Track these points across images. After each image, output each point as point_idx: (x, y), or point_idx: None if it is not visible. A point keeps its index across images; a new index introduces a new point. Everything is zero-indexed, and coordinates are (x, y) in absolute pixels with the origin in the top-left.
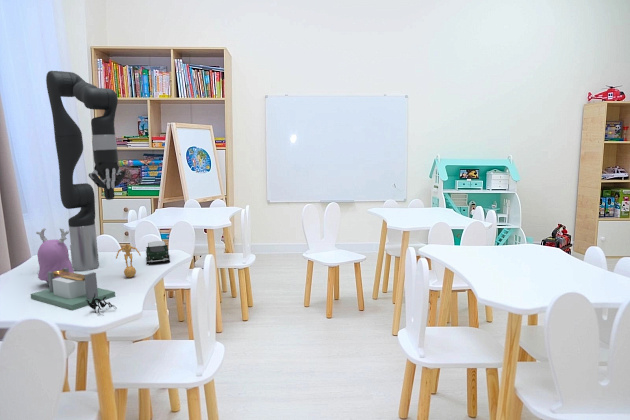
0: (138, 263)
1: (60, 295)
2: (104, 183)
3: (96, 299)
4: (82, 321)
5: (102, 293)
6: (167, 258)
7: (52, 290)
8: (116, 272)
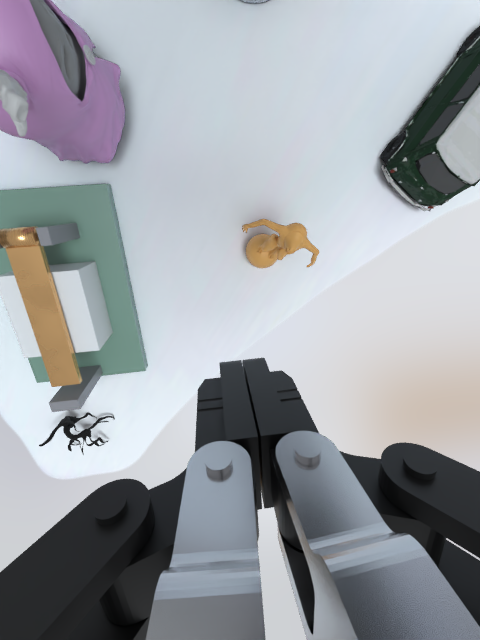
0: (385, 103)
1: None
2: (219, 549)
3: (68, 437)
4: (38, 443)
5: (119, 360)
6: (426, 209)
7: None
8: (272, 150)
